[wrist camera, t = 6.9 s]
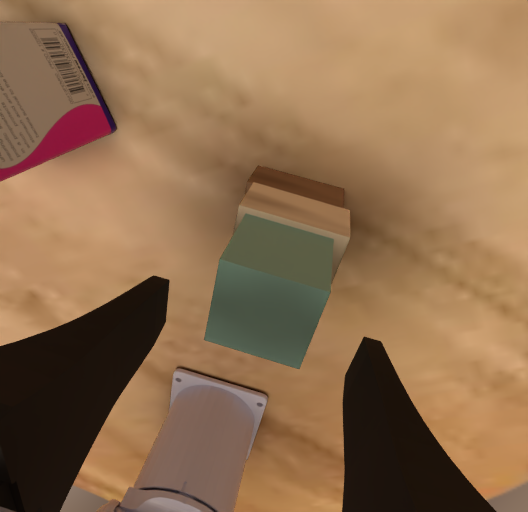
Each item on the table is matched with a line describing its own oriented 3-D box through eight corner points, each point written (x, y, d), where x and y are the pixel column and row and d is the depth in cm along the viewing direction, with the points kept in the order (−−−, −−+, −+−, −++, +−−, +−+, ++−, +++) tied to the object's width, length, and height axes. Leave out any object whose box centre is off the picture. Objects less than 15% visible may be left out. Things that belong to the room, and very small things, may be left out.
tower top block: (319, 288, 21) (315, 322, 19) (235, 262, 22) (220, 293, 19) (349, 210, 19) (350, 238, 16) (253, 182, 19) (239, 204, 16)
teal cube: (307, 308, 18) (299, 369, 15) (230, 284, 19) (204, 340, 15) (333, 238, 16) (330, 292, 13) (245, 213, 16) (219, 259, 13)
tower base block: (318, 260, 24) (315, 287, 21) (243, 238, 24) (231, 262, 22) (344, 187, 21) (343, 208, 19) (258, 164, 22) (247, 181, 19)
